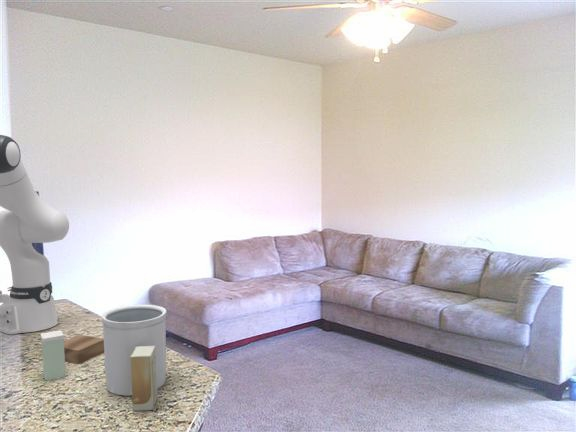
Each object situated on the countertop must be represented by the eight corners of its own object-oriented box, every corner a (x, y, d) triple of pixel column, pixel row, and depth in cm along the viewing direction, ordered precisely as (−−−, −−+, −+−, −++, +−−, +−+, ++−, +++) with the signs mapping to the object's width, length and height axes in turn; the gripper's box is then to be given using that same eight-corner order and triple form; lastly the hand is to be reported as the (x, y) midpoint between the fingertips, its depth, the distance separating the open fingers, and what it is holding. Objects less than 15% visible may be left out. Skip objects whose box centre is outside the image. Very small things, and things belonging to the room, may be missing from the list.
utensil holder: (180, 375, 126) (178, 306, 124) (145, 401, 112) (142, 324, 110) (130, 368, 130) (127, 302, 129) (91, 392, 116) (87, 318, 115)
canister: (45, 380, 123) (42, 338, 123) (42, 374, 128) (40, 333, 127) (66, 376, 126) (63, 335, 125) (63, 370, 130) (61, 330, 129)
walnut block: (52, 360, 138) (51, 345, 138) (80, 348, 147) (79, 334, 147) (79, 365, 134) (78, 350, 134) (106, 352, 143) (106, 338, 143)
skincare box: (138, 398, 113) (136, 345, 112) (158, 397, 114) (155, 344, 112) (132, 412, 107) (129, 356, 106) (152, 411, 107) (150, 355, 106)
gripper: (-61, 285, 103) (14, 286, 111) (-68, 277, 119) (-1, 279, 127) (-65, 317, 102) (11, 315, 111) (-71, 304, 118) (-4, 304, 127)
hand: (4, 296), depth 119 cm, fingers open, 8 cm apart
